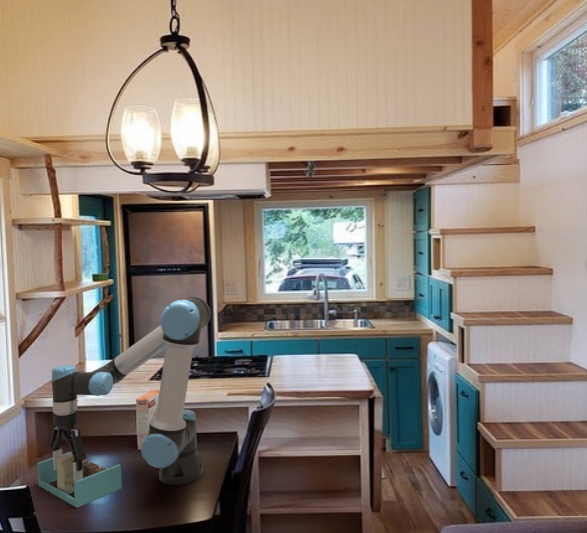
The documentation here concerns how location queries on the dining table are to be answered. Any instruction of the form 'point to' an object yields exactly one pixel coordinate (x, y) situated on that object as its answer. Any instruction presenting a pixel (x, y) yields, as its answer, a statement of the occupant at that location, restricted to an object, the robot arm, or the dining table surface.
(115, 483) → the teal rack
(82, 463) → the offcut
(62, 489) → the skincare box
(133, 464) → the dining table surface
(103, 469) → the offcut
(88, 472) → the block
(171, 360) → the robot arm
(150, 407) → the cracker box
